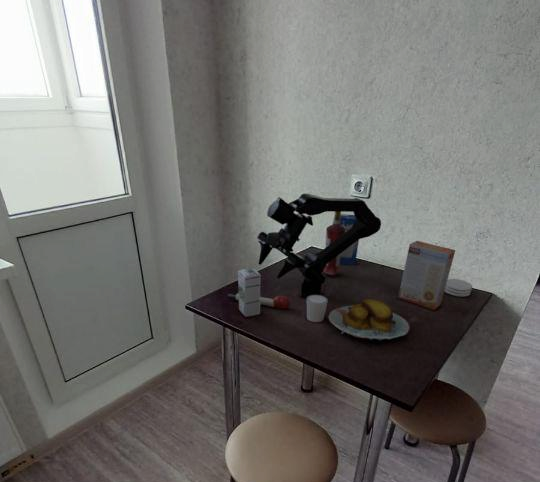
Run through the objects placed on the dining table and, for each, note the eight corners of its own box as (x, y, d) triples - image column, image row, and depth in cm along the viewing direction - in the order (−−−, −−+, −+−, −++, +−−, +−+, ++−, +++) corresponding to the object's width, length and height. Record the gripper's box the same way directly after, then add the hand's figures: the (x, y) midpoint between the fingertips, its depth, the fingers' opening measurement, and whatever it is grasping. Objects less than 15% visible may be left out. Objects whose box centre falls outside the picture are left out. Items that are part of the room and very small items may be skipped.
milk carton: (332, 263, 178) (337, 217, 168) (332, 258, 184) (338, 213, 174) (355, 265, 177) (362, 219, 167) (355, 260, 183) (361, 215, 172)
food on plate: (312, 325, 129) (314, 307, 126) (355, 302, 145) (357, 285, 142) (382, 358, 114) (387, 338, 111) (422, 328, 130) (426, 310, 127)
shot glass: (327, 315, 136) (329, 296, 132) (323, 324, 130) (325, 305, 127) (307, 311, 138) (309, 292, 134) (302, 320, 132) (304, 301, 128)
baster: (290, 306, 140) (291, 295, 138) (287, 311, 137) (288, 300, 135) (231, 296, 146) (231, 285, 144) (226, 301, 142) (226, 290, 140)
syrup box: (260, 314, 135) (261, 273, 127) (244, 317, 132) (244, 276, 125) (253, 307, 139) (254, 267, 132) (237, 310, 137) (237, 269, 129)
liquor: (321, 270, 171) (329, 202, 156) (339, 271, 170) (348, 203, 156) (321, 276, 164) (329, 206, 150) (339, 278, 164) (348, 207, 149)
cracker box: (440, 305, 145) (456, 249, 135) (433, 311, 141) (449, 253, 131) (404, 293, 153) (417, 239, 143) (397, 298, 149) (409, 243, 139)
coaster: (462, 299, 150) (465, 291, 148) (437, 290, 157) (440, 282, 155) (474, 293, 156) (477, 284, 154) (450, 284, 162) (452, 276, 161)
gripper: (260, 211, 131) (236, 253, 135) (301, 238, 123) (274, 282, 127) (277, 220, 140) (255, 259, 145) (317, 246, 132) (292, 286, 137)
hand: (268, 271), depth 138 cm, fingers open, 9 cm apart
